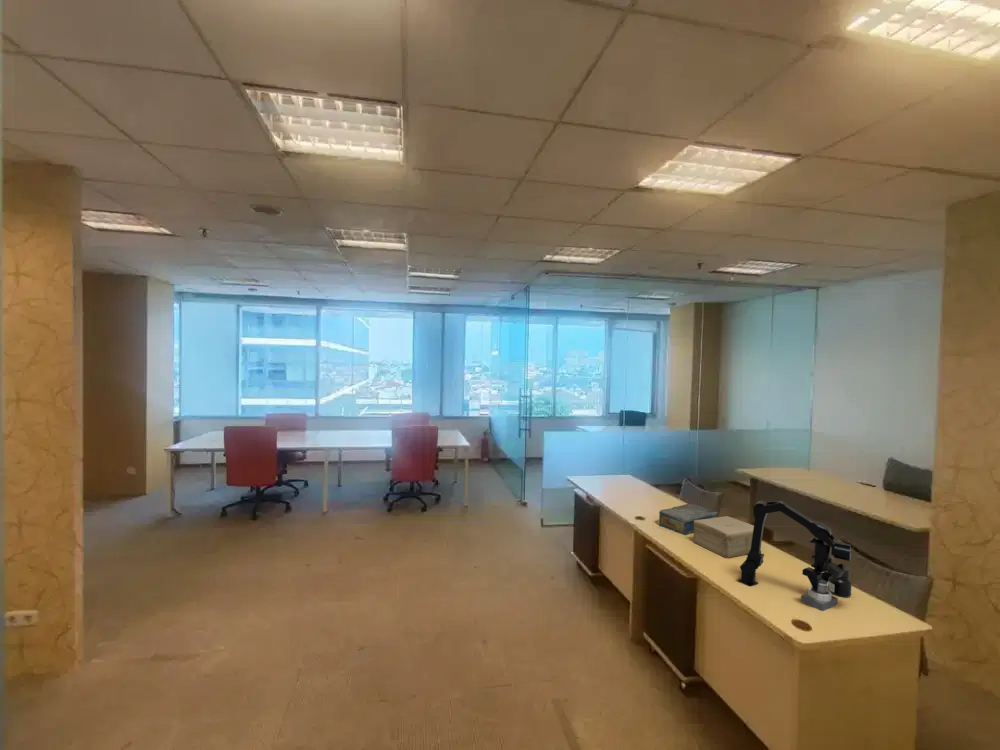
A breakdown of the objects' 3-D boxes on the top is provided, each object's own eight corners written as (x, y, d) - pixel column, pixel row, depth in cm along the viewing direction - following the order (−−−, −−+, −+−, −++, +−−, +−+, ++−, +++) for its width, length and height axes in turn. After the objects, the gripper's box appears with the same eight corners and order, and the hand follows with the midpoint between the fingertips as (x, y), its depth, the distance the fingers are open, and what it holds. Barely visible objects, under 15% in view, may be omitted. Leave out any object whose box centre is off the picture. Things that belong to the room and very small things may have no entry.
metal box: (718, 527, 314) (719, 512, 313) (685, 536, 296) (686, 519, 296) (689, 517, 332) (690, 503, 331) (656, 525, 314) (657, 509, 314)
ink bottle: (829, 586, 235) (830, 561, 234) (851, 592, 229) (853, 567, 229) (826, 593, 227) (828, 568, 227) (849, 600, 222) (851, 573, 221)
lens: (822, 600, 214) (823, 583, 214) (809, 595, 219) (810, 579, 219) (828, 597, 217) (829, 581, 217) (816, 592, 221) (817, 576, 221)
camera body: (822, 611, 211) (823, 598, 211) (800, 601, 219) (801, 589, 219) (837, 604, 217) (838, 592, 217) (815, 595, 225) (816, 583, 225)
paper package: (724, 536, 297) (726, 514, 297) (762, 553, 274) (764, 528, 273) (690, 542, 287) (691, 518, 286) (726, 559, 263) (728, 534, 262)
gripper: (830, 565, 205) (827, 602, 206) (853, 557, 215) (851, 592, 215) (802, 555, 215) (800, 590, 216) (825, 548, 224) (823, 582, 225)
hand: (819, 589), depth 218 cm, fingers open, 7 cm apart
